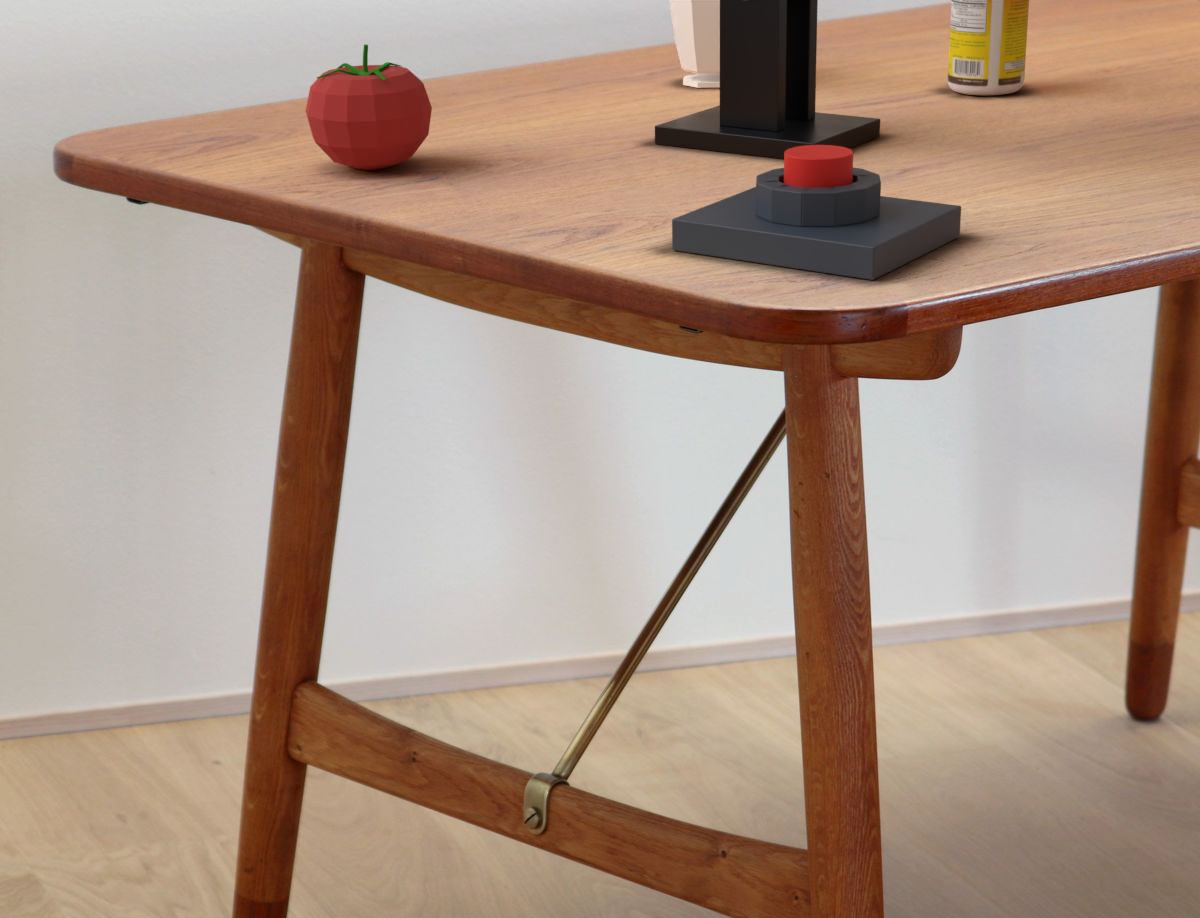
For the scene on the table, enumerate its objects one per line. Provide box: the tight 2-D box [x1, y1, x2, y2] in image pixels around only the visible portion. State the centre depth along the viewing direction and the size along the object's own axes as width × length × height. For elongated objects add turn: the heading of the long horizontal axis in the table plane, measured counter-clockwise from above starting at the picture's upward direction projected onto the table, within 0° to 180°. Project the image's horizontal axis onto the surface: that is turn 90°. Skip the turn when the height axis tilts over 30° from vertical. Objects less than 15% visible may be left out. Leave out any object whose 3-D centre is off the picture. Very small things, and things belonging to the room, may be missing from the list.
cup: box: [668, 0, 720, 89], centre depth 147 cm, size 7×10×8 cm
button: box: [783, 145, 854, 188], centre depth 101 cm, size 4×4×2 cm
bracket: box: [654, 0, 881, 160], centre depth 125 cm, size 12×9×12 cm
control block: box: [671, 167, 962, 281], centre depth 102 cm, size 12×10×4 cm
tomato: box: [305, 43, 433, 171], centre depth 122 cm, size 8×8×8 cm
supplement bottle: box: [947, 0, 1030, 97], centre depth 140 cm, size 6×6×10 cm
